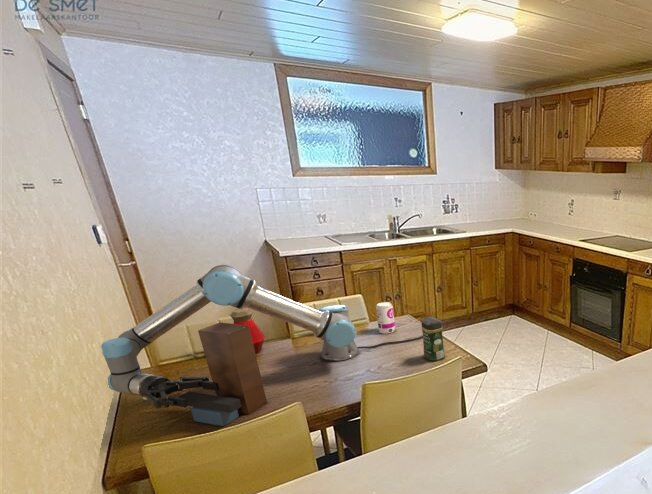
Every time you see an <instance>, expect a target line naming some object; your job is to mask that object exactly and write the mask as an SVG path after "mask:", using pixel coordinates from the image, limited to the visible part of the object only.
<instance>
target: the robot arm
mask: <svg viewBox="0 0 652 494" xmlns="http://www.w3.org/2000/svg"><path fill="white" fill-rule="evenodd" d="M210 303H213V304H214V305H219V306H223V307H225V306H226V307H227V306H230V307H234V308H235V309H242V308H246V309H251V310H253V311H256V312H259V313H262V314H264V315H266V316H267V315H268V316H269V317H272V318H274V319H277V320H280V321H283V322H286V323H288V324H292V325H294V326H296V327H299V328H301V329H305V330H307V331H310V332H312V334H313V337H315V338H317V339H321V340H323V342H322V348H321V359H323V360H324V361H328V362H341V361H342V362H343V361H346V360H349V359H352V358H354V357H356V356H357V355H358V354H359V349H373V348H378V347H380V346H384V345H390V344H391V345H392V344H400V343H401V344H402V343H408V342H412V341H418V340H420V339H423V335H421V336H418V337H414V338H410V339H403V340H397V341H396V340H394V341H385V342H381V343H377V344H375V345H369V346H366V345H365V346H364V345H363V346H358V345H357V343H356V342H355V339H356V335H357V331H356V330H357V329H356V326H355V324H354V323H353V321H352V320H351V318H350V315H349V309H348V306H347V305H344V304H336V305H335V304H333V305H328V306H323V307H321V308H320V309H319V310H317V309H314V308H313V307H310V306H307V305H305V304H302V303H300V302H297V301H295V300H292V299H290V298H288V297H285V296H282V295H280V294H278V293H275V292H273V291H271V290H268V289H266V288H263V287H260V286H259V285H258V284H257V282H256V281H255V280H254V279H252V278H249V277H247V276H245V275H243V273H242V271H241V270H239V269H238V268H236V267H235V266H232V265H231V264H230V265H229V264H219V265H216V266H214V267H212V268H211V269H210V270H209V271H207V273H205V274H204V275H203V276H201V277H200V278H199V279H197V280H196V284H195V285H194V286H192V287H191V288H189V289H188V290H186V291H185V292H184V293H182V294H180V295H179V296H178V297H176V298H175V299H173V300H172V301H170V302H168V303H167V304H165V305H164V306H162V307H161V308H160V309H158V310H157V311H155V312H154V313H152V314H151V315H149V316H148V317H146V318H145V319H143V320H142V321H140V322H139V323H137V324H136V325H134V326H133V327H132V328H130V329H129V330H126V331H124V332H123V333H121V334H120V335H118V337H116V338H110V339H107V340H106V341H103V342H102V343H101V345H100V347H101V351H102V353H101V354H102V356H103V357H104V360H105V362H106V365H107V367H108V370H109V372H110V373H109V375H108V377H107V379H108V385H109V387H108V389H110V390H111V391H115V392H117V393H120V394H127V395H128V394H129V395H134V396H140V397H141V398H142V401H143V402H146V403H149V404H150V405H151V406H153V407H154V408H156V409H161V408H162V406H163V407H164V409H168V408H170V407H173V406H175V407H181V408H185V409H186V408H188V407H189V406H188V405H187V402H186V399H183V398H178V396H170V394H173V393H175V392H182V391H184V390H189V389H199V388H202V389H203V390H209V391H214V392H215V391H219V390H220V389H219V386H218V383H214V382H213V381H211V380H210V378H209V376H183V375H182V376H180V377H179V379H178V380H171V379H169V378H167V377H166V376H162V375H155V374H150V373H144V372H142V369H141V366H140V363H139V361H138V355H139V354H140V353H141V351H142V350H143V349H145V348H146V347H147V346H149V345H150V344H152V343H153V342H154V341H156V340H158V339H159V338H160V337H162V336H164V335H165V334H166V333H167V332H169V331H170V330H172V329H173V328H175V327H176V326H178V325H179V324H180V323H182V322H183V321H185V320H187V319H188V318H189V317H191V316H192V315H194V314H196V313H197V312H198V311H200V310H201V309H203V308H204V307H206V306H207V305H209V304H210ZM108 385H107V386H108ZM167 395H169V396H167ZM160 399H161V400H160Z"/></svg>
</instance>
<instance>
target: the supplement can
mask: <svg viewBox="0 0 652 494" xmlns="http://www.w3.org/2000/svg"><path fill="white" fill-rule="evenodd" d="M375 309H376V311H375V312H376V319H377V326H378V328H377V329H378V332H379V333H380V334H383V335H388V334H393V333H394V332H395V331H396V324H395V323H396V322H395V314H394V306H393V304H392V302H389V301H381V302H379V303H377V304H376V306H375Z"/></svg>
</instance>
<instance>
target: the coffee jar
mask: <svg viewBox="0 0 652 494" xmlns="http://www.w3.org/2000/svg"><path fill="white" fill-rule="evenodd" d="M421 332H422V336H423V338H422V342H423V355H424V357H425V358H426V359H427V360H428V361H431V362H432V361H441V360H442V359H444V358H445V348H444V336H443V321H442V320H440V319H439V318H436V317H433V316H427V317H423V318H422V320H421Z"/></svg>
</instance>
